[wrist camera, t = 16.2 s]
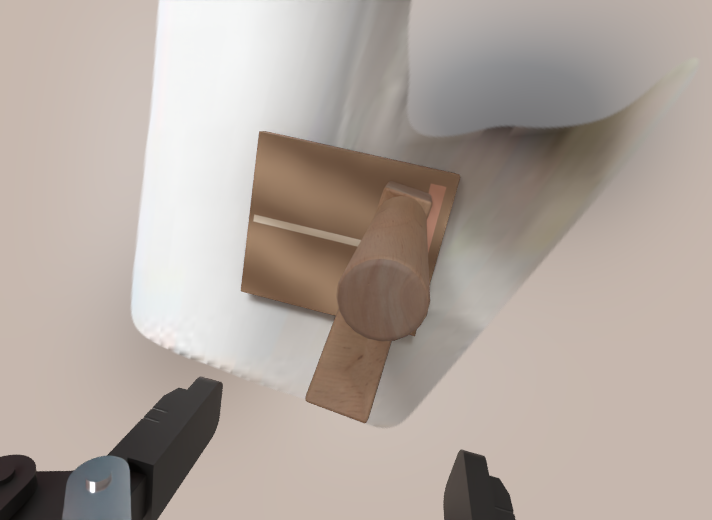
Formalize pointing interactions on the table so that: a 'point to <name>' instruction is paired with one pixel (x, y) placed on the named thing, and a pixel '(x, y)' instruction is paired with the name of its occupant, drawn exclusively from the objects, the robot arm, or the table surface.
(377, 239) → the tan cylinder-on-bar part
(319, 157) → the board
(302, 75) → the table surface
